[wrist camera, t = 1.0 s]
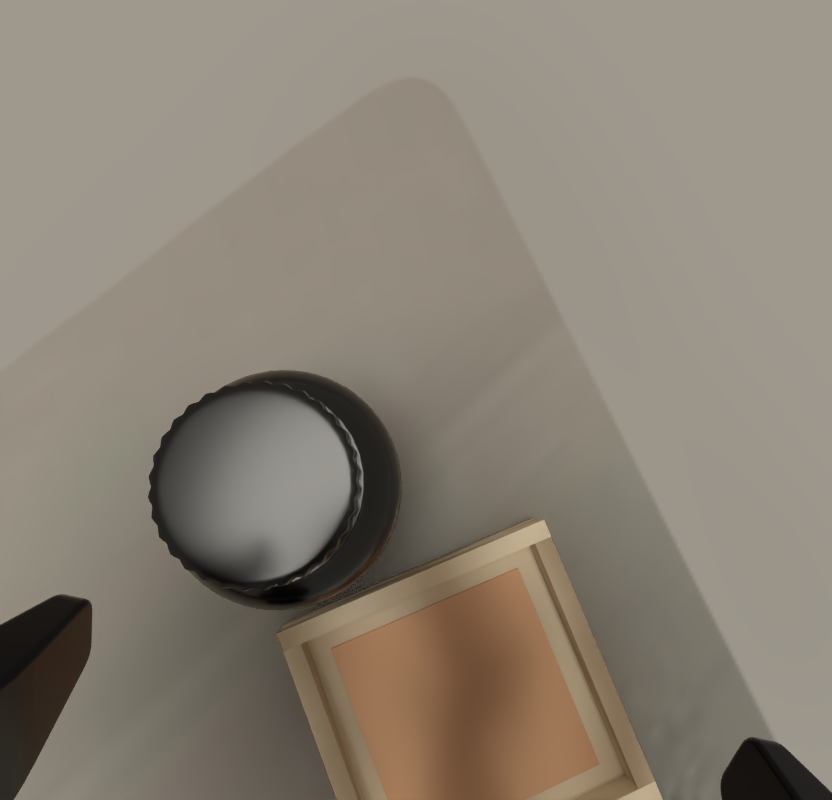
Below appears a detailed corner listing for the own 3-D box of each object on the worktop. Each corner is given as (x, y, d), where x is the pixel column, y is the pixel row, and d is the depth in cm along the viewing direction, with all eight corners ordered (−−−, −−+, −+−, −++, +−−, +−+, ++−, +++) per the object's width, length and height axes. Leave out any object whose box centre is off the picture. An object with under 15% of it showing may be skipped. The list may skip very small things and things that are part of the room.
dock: (385, 902, 24) (386, 935, 22) (283, 623, 25) (276, 633, 23) (642, 778, 25) (663, 800, 23) (532, 517, 26) (543, 519, 24)
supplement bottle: (406, 418, 26) (426, 357, 15) (387, 583, 25) (392, 661, 14) (244, 399, 26) (131, 321, 14) (218, 564, 25) (72, 628, 13)
